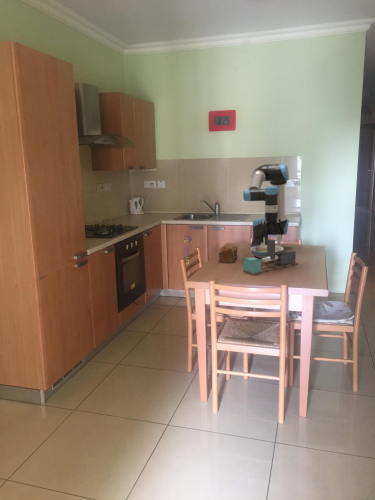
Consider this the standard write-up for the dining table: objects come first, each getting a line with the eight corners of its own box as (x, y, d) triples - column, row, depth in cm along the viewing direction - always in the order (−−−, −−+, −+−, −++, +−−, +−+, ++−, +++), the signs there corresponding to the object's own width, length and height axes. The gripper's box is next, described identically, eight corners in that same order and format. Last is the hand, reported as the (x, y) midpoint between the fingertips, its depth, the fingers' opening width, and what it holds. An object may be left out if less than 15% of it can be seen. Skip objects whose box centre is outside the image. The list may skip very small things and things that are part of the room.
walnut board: (287, 261, 259) (287, 260, 259) (297, 264, 251) (297, 263, 251) (243, 271, 239) (243, 270, 239) (253, 275, 232) (253, 273, 232)
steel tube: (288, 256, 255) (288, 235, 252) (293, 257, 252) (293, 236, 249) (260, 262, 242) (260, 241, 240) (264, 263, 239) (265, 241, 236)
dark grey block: (288, 261, 257) (288, 249, 256) (295, 262, 252) (295, 251, 251) (273, 264, 250) (274, 252, 249) (280, 266, 245) (281, 254, 244)
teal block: (250, 268, 242) (250, 256, 241) (261, 271, 235) (261, 259, 233) (243, 270, 239) (243, 258, 238) (253, 273, 232) (253, 261, 230)
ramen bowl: (284, 263, 256) (284, 251, 254) (249, 263, 260) (249, 251, 259) (283, 254, 280) (283, 243, 278) (250, 254, 284) (250, 243, 282)
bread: (234, 263, 261) (233, 248, 259) (218, 263, 264) (217, 248, 262) (238, 257, 279) (237, 243, 277) (223, 256, 282) (223, 243, 280)
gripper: (260, 214, 228) (260, 250, 233) (290, 210, 241) (289, 244, 245) (251, 213, 234) (251, 248, 239) (281, 209, 247) (281, 242, 252)
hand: (271, 246), depth 242 cm, fingers open, 13 cm apart
